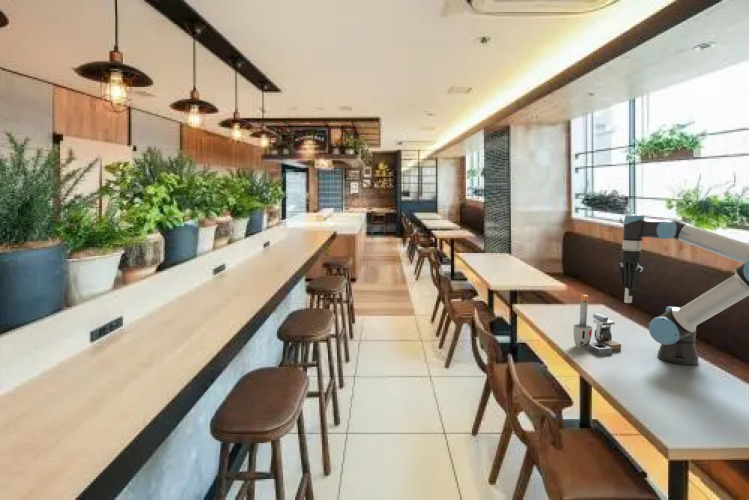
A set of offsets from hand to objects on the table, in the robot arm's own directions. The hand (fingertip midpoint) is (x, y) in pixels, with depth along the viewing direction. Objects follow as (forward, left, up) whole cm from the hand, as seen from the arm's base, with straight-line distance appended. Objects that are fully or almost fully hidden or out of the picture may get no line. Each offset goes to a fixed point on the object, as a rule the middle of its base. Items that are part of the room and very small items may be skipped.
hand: (628, 302), depth 209 cm
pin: (+15, +11, -14) cm, 23 cm away
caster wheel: (+16, -2, -24) cm, 29 cm away
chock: (+8, 0, -25) cm, 26 cm away
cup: (+14, +11, -25) cm, 31 cm away
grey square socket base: (+6, +8, -24) cm, 26 cm away
